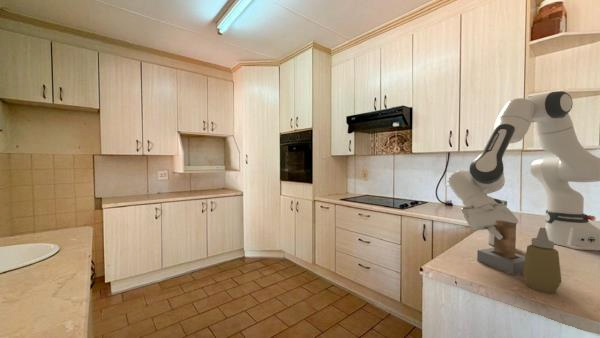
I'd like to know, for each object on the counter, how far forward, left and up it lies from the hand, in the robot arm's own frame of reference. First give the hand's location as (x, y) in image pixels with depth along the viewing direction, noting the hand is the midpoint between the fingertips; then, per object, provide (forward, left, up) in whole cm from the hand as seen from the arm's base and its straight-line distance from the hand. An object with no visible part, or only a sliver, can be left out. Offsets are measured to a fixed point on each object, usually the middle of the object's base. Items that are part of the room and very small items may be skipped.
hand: (506, 238), depth 85 cm
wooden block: (0, 0, -6) cm, 6 cm away
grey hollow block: (0, 0, -10) cm, 10 cm away
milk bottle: (-6, -25, -10) cm, 28 cm away
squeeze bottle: (-4, +15, -10) cm, 18 cm away
